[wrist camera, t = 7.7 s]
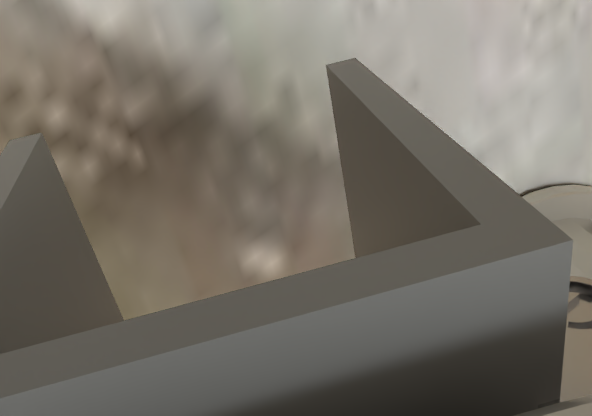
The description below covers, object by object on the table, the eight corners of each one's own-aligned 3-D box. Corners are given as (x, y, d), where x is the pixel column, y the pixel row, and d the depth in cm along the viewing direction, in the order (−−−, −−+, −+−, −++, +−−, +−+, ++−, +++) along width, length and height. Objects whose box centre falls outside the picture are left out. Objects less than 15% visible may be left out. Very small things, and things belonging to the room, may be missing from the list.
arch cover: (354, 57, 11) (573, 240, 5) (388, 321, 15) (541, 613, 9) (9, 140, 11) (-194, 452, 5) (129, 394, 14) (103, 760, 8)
